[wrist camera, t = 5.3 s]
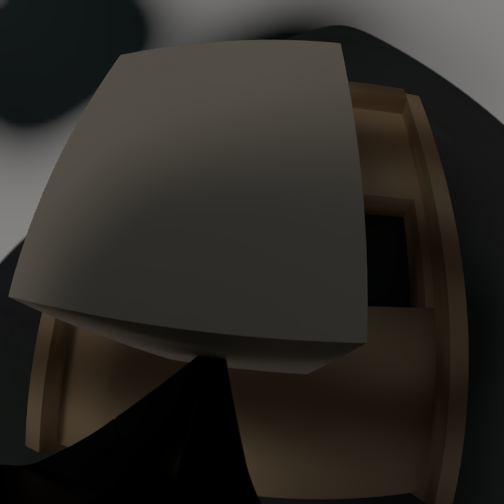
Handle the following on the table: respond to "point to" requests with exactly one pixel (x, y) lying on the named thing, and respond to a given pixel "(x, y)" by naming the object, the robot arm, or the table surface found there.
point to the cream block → (210, 209)
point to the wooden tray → (331, 375)
